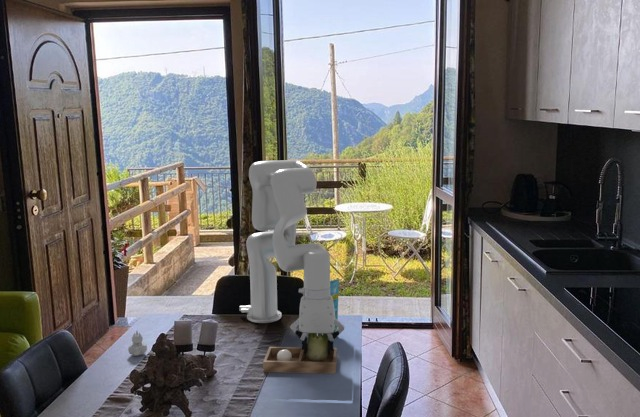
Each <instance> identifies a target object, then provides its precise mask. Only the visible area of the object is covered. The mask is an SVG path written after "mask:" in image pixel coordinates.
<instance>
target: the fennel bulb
mask: <svg viewBox="0 0 640 417" xmlns="http://www.w3.org/2000/svg"><path fill="white" fill-rule="evenodd" d="M307 336H308V337H307V358H308V360H309V361H311V362H325V361H326V359H327V356H328V335H327V334H321V333H307Z"/></svg>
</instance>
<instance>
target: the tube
mask: <svg viewBox="0 0 640 417" xmlns="http://www.w3.org/2000/svg"><path fill="white" fill-rule="evenodd" d="M339 287H340V278H337V279H333V280H330V295H331V296H332V298H333V302H334V311H335V318H336V319H337V320H338V321H339V319H338V317H339V290H340V289H339ZM337 329H338V327H337V326H336V325H335V329H334V332H335V331H336V330H337ZM328 338H329V337H328ZM337 338H338V336H337V337H336V338H335V339H337Z"/></svg>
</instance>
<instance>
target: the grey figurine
mask: <svg viewBox="0 0 640 417" xmlns="http://www.w3.org/2000/svg"><path fill="white" fill-rule="evenodd" d="M143 340H144V339H143V335H142V334H141V332H139V331H138V330H136V332H134V333H133V335H132V337H131V341H132V343H131V344H130V345H129V346H128V353H129V354H130V355H132V356H135V357H136V356H137V357H139V356H142V355H144V354H145V353H146V352H147V350H148V345H147V344H146V342H144V341H143Z"/></svg>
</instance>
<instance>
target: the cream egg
mask: <svg viewBox="0 0 640 417" xmlns="http://www.w3.org/2000/svg"><path fill="white" fill-rule="evenodd" d="M277 360H278V361H291V360H292V354H291V352H290V351H289V350H287V349H282V350H280V351H279V352H278V354H277Z"/></svg>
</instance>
